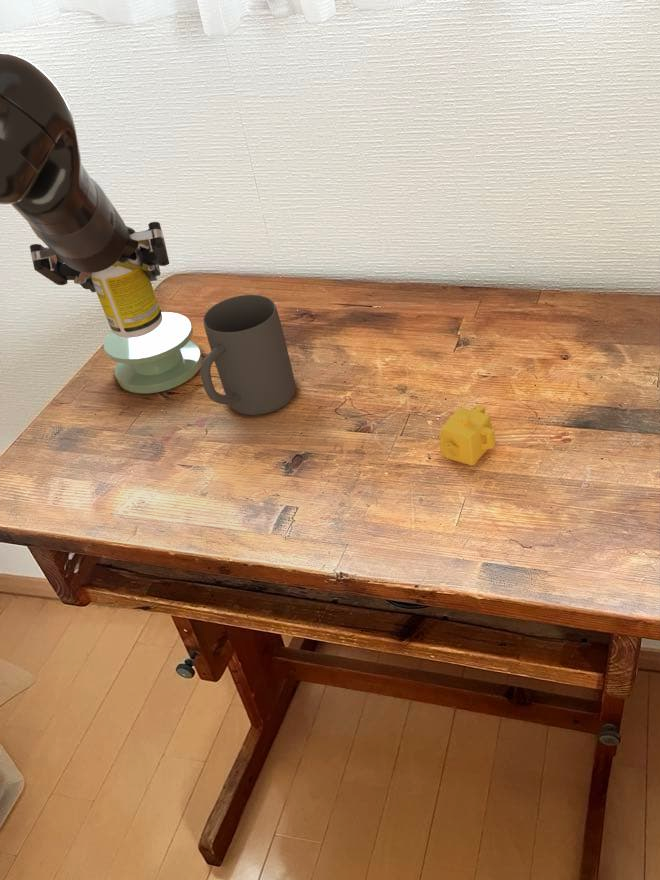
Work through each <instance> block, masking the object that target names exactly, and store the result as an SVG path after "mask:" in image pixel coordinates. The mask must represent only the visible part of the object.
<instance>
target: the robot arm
mask: <svg viewBox="0 0 660 880" xmlns="http://www.w3.org/2000/svg"><path fill="white" fill-rule="evenodd" d="M81 157H82V156H81V152H80V146H79V140H78V136H77V129H76V125H75V121H74V117H73V113H72V112H71V110H70V107H69V105H68V103H67V101H66V99H65V97H64V96H63V94H62V92H61V90H59V88H58V86H57V85H56V84H55V83H54V81H52V79H51V78H50V77H49V75H47V74H46V73H45V72H44V71H43V70H42V69H40V67H39V66H37V65H36V64H34V63H32V61H30V60H27V59H26V58H23V57H21V56H18V55H16V54H11V53H5V52H1V53H0V205H11V206H12V207H13V208H14V209H15V210H16V211H17V213H19V215H20V216H21V217H22V218H23V219H24V220H25V221H26V222H27V223H28V225H29V226H30V228H31V229H32V231H33V232H34V234H35V235H36V237H37V238H38V239H39V240H41V241H42V242H43V244H44V245H46V246H47V247H45V246H43V245H42V244H39V243H33V244H31V245H29V249H30V256H31V260H32V261H31V262H32V264H33V269H34V270H35V271H36V272H37V273H38V274H40V275H42V276H43V277H45V278H47V279H48V280H49V281H51V282H52V283H53V284H55V285H57V286H64V285H67V284H68V281H73V282H74V284H76V285H80V286H81V287H82V288H83V289H84V290H89V291H90V292H91V293H96V290H95V288H94V285H93V282H92V280H91V278H90V277H91V275H92V273H93V272H99V271H103V270H105V269H107V268H109V267H111V266H114V267H117V266H121V267H124V268H127V269H130V270H135V269H138V268H139V269H142V270H144V273H145V274H146V275H147V277H148V278H149V279H150V281H151V282H155V281H158V277H159V276H161V269H160V267H165V266H169V264H170V259H169V255H168V254H169V253H168V250H167V245H166V241H165V238H164V235H163V234H164V233H163V230H162V226H161V223H160V222H158V221H152V222H149V223H148V225H147V226H148V228H145V230H141V231H136V230H135V229H133V227H130V226H127V225H126V223H125V221H124V220H123V218H122V216H121V215H120V213H119V212H118V211H117V209H116V208H115V206H114V205H113V203H112V202H111V200H110V199H109V197H108V196H107V194H106V193H105V191H104V190H103V188H102V186H101V185H100V184H99V183H97V181H96V180H95V179H94V178H93V177H91V175H90V174H89V173H88V171H87V170H86V168H85V167H84V165H83V164H82V158H81Z"/></svg>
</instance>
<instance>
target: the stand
mask: <svg viewBox="0 0 660 880" xmlns="http://www.w3.org/2000/svg"><path fill="white" fill-rule="evenodd" d="M161 313H162V322H161V324H160V325H159V326H158V327H157V328H156V329H155V330H153V331H151V332H150V333H147V334H145V335H142V336H139V337H133V338H125V337H120V336H117V335H116V334H114V333H113V331H112V330H111V331H109V333H107V335H106V337H105V339H104V341H103V350H104V353H105V354H106V356H107V357H108V358H109V359H110V360H111V361H112V362H113V361H114V362H115V363H116V364H115V367H114V376H115V378H116V381H117V383H118V385H119V386H120V387H121V388H122V389H123V390H125V391H127V392H130V393H135V394H155V393H160V392H165V391H168V390H172V389H174V388H177V387H178V386H181V385H183V384H185V383H186V382H187V381H189V380H191V379H193V377H194V376H195V375H196V374H197V373H198V372H200V369H201V364H202V361H203V360H204V359H203V355H202V352H201V349H200V347H199V346H198V345H197V344H196V343H195V342H194V341H191V339H192V336H193V333H194V329H193V328H194V327H193V325H192V322H191V321H190V319H189V318H188V317H187V316H185V315H183V314H180V313H178V312H171V311H161Z"/></svg>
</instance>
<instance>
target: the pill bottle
mask: <svg viewBox="0 0 660 880" xmlns="http://www.w3.org/2000/svg"><path fill="white" fill-rule="evenodd" d="M90 278H91V280H92V282H93V285H94V288H95V290H96V292H95V293H96V295H97V298H98V301H99V303H100V305H101V308H102V310H103V312H104V316H105V318H106V320H107V323H108V325H109V327H110V330H111V331H113V333H114V334H116V335H117V336H120V337H125V338H133V337H139V336H142V335H145V334H147V333H150V332H151V331H153V330H155V329H156V328H157V327H158V326H159V325H160V324H161V322H162V313H161V312H162V310H161V307H160V305H159V302H158V299H157V295H156V293H155V291H154V287H153V285H152V281H150V279H149V278H148V277H147V275H146V274H145V273H144V270H142V269H139V268H138V269H135V270H130V269H127V268H124V267H121V266H117V267H114V266H111V267H109V268H107V269H105V270H103V271H99V272H93V273H92V275H91V277H90Z"/></svg>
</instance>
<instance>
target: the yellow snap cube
mask: <svg viewBox="0 0 660 880" xmlns="http://www.w3.org/2000/svg"><path fill="white" fill-rule="evenodd" d="M495 432H496V431H495V429H493V426H492V421H491V415H490V414H487V413H486V408H485V406H482V405H477V406H476V407H475V408H474V409H468V408H465V407H459V408H458V409H457V410H456V411H455V412H453V414H451V416H450V417H449V418H448V419H447V420H446V421H445V423H444V424H443V426H442V427H441V428H440V435H439V439H440V440H439V441H440V443H439V445H440V446H439V447H440V453H441V456H442V457H443V458H446V459H448V460H451V461H455V462H458V463H462V464H465V465H468V466H470V467H471V466H475V465H477V462H478V461H479V460H480V459H481V457H482V456H484V454H485V453H486V452H487V451H488V450H491V449H493V448H494V447H495V446H497V445H496V444H497V443H496V433H495Z"/></svg>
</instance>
